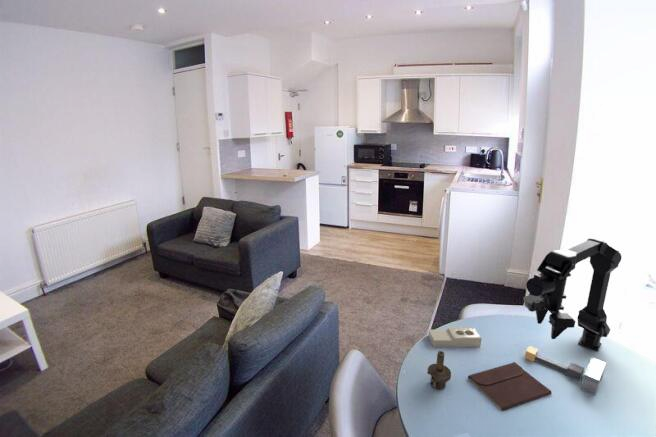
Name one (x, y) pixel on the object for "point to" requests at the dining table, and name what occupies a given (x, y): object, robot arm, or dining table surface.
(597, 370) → the plate
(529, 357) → the plug
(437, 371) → the industrial component
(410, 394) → the dining table surface
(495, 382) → the brown leather pouch
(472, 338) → the electrical outlet
